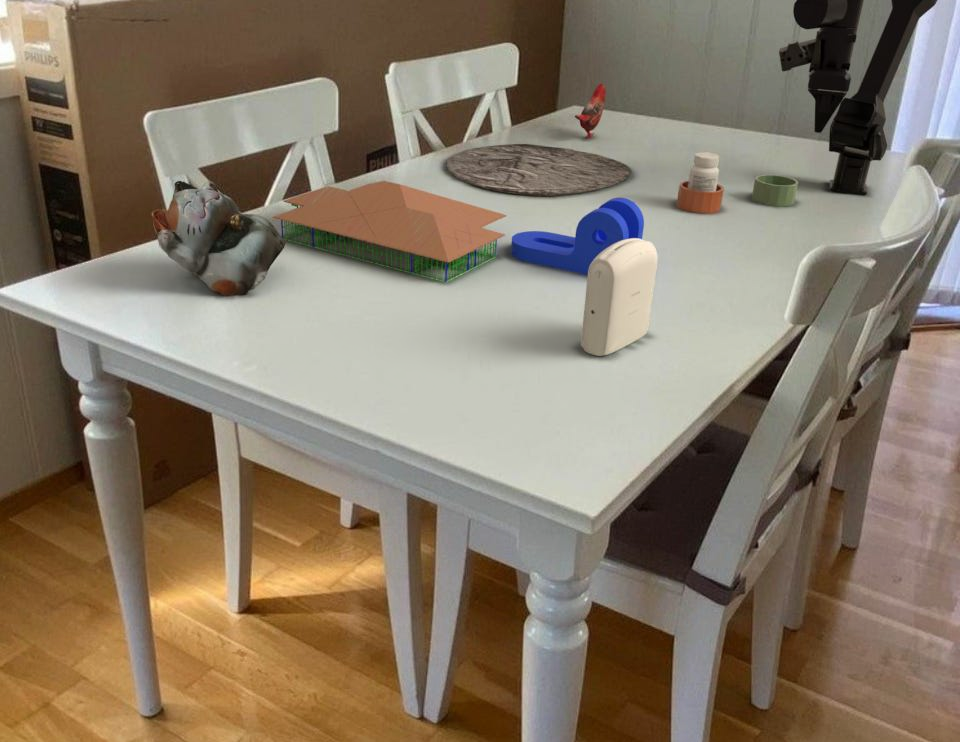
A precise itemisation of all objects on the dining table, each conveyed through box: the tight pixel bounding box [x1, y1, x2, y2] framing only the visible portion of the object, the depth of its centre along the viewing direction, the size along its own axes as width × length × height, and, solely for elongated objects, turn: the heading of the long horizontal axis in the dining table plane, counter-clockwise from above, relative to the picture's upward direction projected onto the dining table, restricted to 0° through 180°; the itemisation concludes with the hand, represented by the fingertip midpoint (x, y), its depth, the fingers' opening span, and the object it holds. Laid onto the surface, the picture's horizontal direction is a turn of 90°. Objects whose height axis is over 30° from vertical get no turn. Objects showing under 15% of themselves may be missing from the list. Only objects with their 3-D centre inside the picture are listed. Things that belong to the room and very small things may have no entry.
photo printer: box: [580, 238, 659, 357], centre depth 119 cm, size 10×4×12 cm, turn 140°
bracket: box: [510, 197, 645, 276], centre depth 145 cm, size 18×8×9 cm, turn 63°
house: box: [272, 180, 507, 283], centre depth 149 cm, size 23×33×8 cm
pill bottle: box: [688, 151, 720, 192], centre depth 171 cm, size 5×5×8 cm
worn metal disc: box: [445, 143, 632, 197], centre depth 189 cm, size 33×35×1 cm
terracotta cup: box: [676, 180, 725, 214], centre depth 172 cm, size 7×7×4 cm
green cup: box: [751, 174, 799, 207], centre depth 178 cm, size 7×7×4 cm
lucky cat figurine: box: [150, 180, 287, 297], centre depth 131 cm, size 15×12×14 cm
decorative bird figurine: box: [574, 83, 607, 140], centre depth 209 cm, size 3×18×10 cm, turn 156°
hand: (817, 126), depth 171 cm, fingers open, 9 cm apart
